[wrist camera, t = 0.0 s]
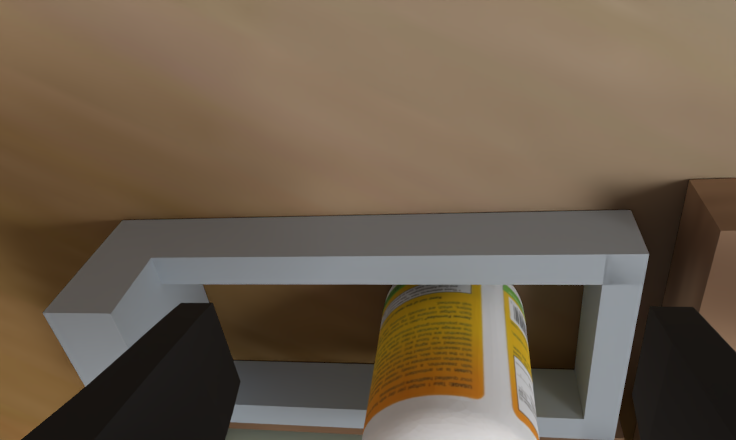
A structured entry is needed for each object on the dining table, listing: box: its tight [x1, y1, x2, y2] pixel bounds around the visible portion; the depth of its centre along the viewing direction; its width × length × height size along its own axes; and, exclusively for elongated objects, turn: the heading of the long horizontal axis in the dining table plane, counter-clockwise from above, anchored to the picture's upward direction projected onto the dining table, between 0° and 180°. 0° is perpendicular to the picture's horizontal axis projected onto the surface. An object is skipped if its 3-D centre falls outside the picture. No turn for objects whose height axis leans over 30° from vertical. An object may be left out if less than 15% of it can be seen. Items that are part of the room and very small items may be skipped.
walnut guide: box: [229, 178, 736, 440], centre depth 24 cm, size 19×22×3 cm
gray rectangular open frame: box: [43, 210, 649, 440], centre depth 21 cm, size 9×19×5 cm, turn 97°
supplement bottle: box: [362, 285, 539, 440], centre depth 19 cm, size 5×5×10 cm
